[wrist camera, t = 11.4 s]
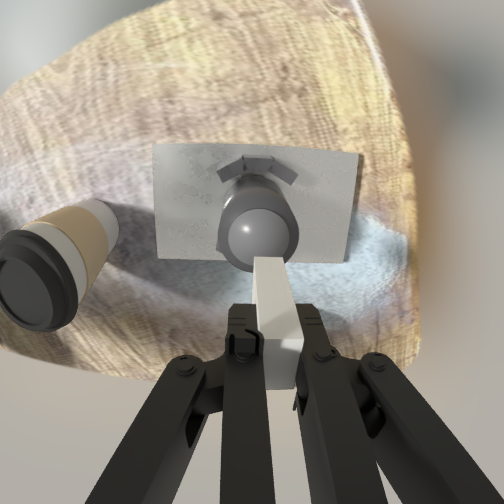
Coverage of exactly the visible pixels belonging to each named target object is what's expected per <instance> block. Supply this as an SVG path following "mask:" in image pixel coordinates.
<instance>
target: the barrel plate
mask: <svg viewBox="0 0 504 504" xmlns="http://www.w3.org/2000/svg"><path fill="white" fill-rule="evenodd" d="M358 158H359V153H356V152H349V151H341V150H332V149H323V148H313V147H301V146H288V145H273V144H254V143H220V142H184V143H154V144H152V161H153V193H154V213H155V229H156V242H157V254H158V258H160V259H191V260H224V261H228V260H227V259H226V258H225V257H224V255H223V254H222V252H221V250H220V247H219V244H218V228H219V223H220V218H221V213H222V209H223V204H224V199H225V196H226V193H227V192H228V190H229V189H230V187H231V186H232V185H233V184H234V183H235V182H237V181H238V180H240V179H242V178H245V177H249V176H261V177H265V178H267V179H269V180H271V181H273V182H274V183H275V184H276V185H277V186H278V187H279V188H280V189H281V191H282V193H283V195H284V197H285V199H286V201H287V202H288V204H289V206H290V208H291V210H292V212H293V214H294V216H295V218H296V221H297V223H298V227H299V242H298V245H297V248H296V250H295V252H294V254H293V255H292V257H291V258H290V259H289V260H288V261H287V262H299V263H343V260H344V255H345V249H346V244H347V238H348V232H349V225H350V219H351V212H352V205H353V198H354V191H355V183H356V175H357V167H358Z"/></svg>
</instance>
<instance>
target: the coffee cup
mask: <svg viewBox="0 0 504 504" xmlns="http://www.w3.org/2000/svg"><path fill="white" fill-rule="evenodd" d="M118 236H119V225H118V221H117V218H116V216H115V214H114V212H113V211H112V210H111V208H110V207H109V206H108V205H106V204H105V203H103V202H102V201H99V200H96V199H85V200H82V201H80V202H77V203H75V204H73V205H71V206H67V207H64V208H61V209H59V210H57V211H54V212H52V213H50V214H47V215H45V216H43V217H41V218H39V219H36V220H34V221H32V222H30V223H28V224H26V225H25V226H23V227H22V228H21V229H20V230H14V231H11V232H9V233H7V234H6V235H5V236H4V237H3V238H2V239H1V241H0V306H1V308H2V309H3V311H4V312H5V313H6V314H7V316H8V317H9V318H10V319H11V320H13V321H14V322H15V323H16V324H18V325H19V326H21V327H23V328H25V329H27V330H31V331H41V332H52V331H56V330H58V329H60V328H61V327H64V326H66V325H67V324H69V323H70V322H71V321H72V320H73V318H74V317H75V315H76V312H77V308H78V305H79V304H80V303H81V302H82V301H83V300H84V298H85V296H86V295H87V293H88V291H89V289H90V287H91V286H92V284H93V282H94V281H95V279H96V277H97V275H98V274H99V272H100V270H101V269H102V267H103V265H104V264H105V262H106V259H107V257H108V255H109V254H110V252H111V251H112V249H113V248H114V246H115V244H116V242H117V240H118Z"/></svg>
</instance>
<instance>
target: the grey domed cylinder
mask: <svg viewBox="0 0 504 504" xmlns="http://www.w3.org/2000/svg"><path fill="white" fill-rule="evenodd" d="M298 242H299V227H298V223H297V221H296V218H295V216H294V214H293V212H292V210H291V208H290V206H289V204H288V202H287V201H286V199H285V197H284V195H283V193H282V191H281V189H280V188H279V187H278V186H277V185H276V184H275V183H274V182H273V181H271V180H269V179H267V178H265V177H261V176H249V177H245V178H242V179H240V180H238V181H237V182H235V183H234V184H233V185H232V186H231V187H230V189H229V190H228V192H227V193H226V196H225V199H224V204H223V209H222V213H221V218H220V223H219V228H218V244H219V247H220V250H221V252H222V254H223V255H224V257H225V258H226V259H227V260H228V261H229V262H230V263H231V264H232V265H234V266H235V267H237V268H239V269H241V270H243V271H246V272H251V273H253V269H254V257H283V261H284V264H285V263H286V262H287V261H288V260H289V259H290V258H291V257H292V255H293V254H294V252H295V250H296V248H297V245H298Z"/></svg>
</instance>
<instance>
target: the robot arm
mask: <svg viewBox="0 0 504 504" xmlns="http://www.w3.org/2000/svg"><path fill="white" fill-rule="evenodd" d="M295 381H296V386H297V392H296V397H295V401H294V405H293V411H294V410H296V406H297V412H298V418H299V424H300V430H301V437H302V443H303V450H304V456H305V463H306V469H307V476H308V483H309V489H310V496H311V503H312V504H388V501H387V498H386V494H385V491H384V487H383V484H382V481H381V477H380V474H379V470H378V467H377V463H378V465H379V467H380V468H381V470H382V471H383V473H384V475H385V476H386V478H387V479H388V481H389V483H390V484H391V486H392V487H393V489H394V491H395V492H396V494H397V495H398V497H399V499H400V500H401V502H402V503H403V504H504V499H503V498H502V497H501V496H500V494H499V493H498V491H497V490H496V489H495V487H494V486H493V485H492V483H491V482H490V481H489V479H488V478H487V477H486V476H485V474H484V473H483V472H482V470H481V469H480V468H479V466H478V465H477V464H476V462H475V461H474V460H473V459H472V457H471V456H470V455H469V454H468V452H467V451H466V450H465V448H464V447H463V446H462V445H461V443H460V442H459V441H458V440H457V438H456V437H455V436H454V435H453V433H452V432H451V431H450V430H449V428H448V427H447V426H446V425H445V423H444V422H443V421H442V420H441V418H440V417H439V416H438V415H437V414H436V412H435V411H434V410H433V409H432V408H431V406H430V405H429V404H428V403H427V401H425V399H424V398H423V397H422V395H421V394H420V393H419V392H418V391H417V389H416V388H415V387H414V386H413V385H412V384H411V382H410V381H409V380H408V379H407V378H406V376H405V375H404V374H403V373H402V372H401V371H400V369H399V368H398V367H397V366H396V365H395V364H394V362H393V361H392V360H391V359H390V358H389V357H388V356H386V355H384V354H382V353H377V352H371V353H367V354H365V355H364V356H363V357H362V358H361V360H355V359H349V358H345V357H343V356H341V355H340V353H339V352H338V350H337V349H336V348H334V347H333V346H331V345H330V342H329V339H328V336H327V334H326V331H325V328H324V325H323V322H322V319H321V317H320V314H319V311H318V310H317V309H316V308H315V307H314V306H313V305H312V304H295V302H294V298H293V294H292V290H291V287H290V283H289V279H288V275H287V272H286V268H285V264H284V261H283V257H254V269H253V287H252V304H236V303H234V304H233V305H232V306H231V308H230V309H229V314H228V331H227V335H226V337H225V352H224V354H223V355H222V356H221V357H219V358H217V359H215V360H212V361H207V362H203V361H202V360H201V359H200V358H198V357H195V356H192V355H182V356H178V357H176V358H174V359H172V360H171V361H170V362H169V363H168V365H167V366H166V368H165V370H164V371H163V373H162V375H161V376H160V378H159V380H158V381H157V383H156V385H155V386H154V388H153V389H152V391H151V393H150V395H149V396H148V398H147V400H146V401H145V403H144V404H143V406H142V408H141V409H140V411H139V413H138V414H137V416H136V418H135V419H134V421H133V423H132V424H131V426H130V428H129V429H128V431H127V433H126V434H125V436H124V438H123V439H122V441H121V443H120V444H119V446H118V448H117V449H116V451H115V453H114V454H113V456H112V458H111V459H110V461H109V463H108V464H107V466H106V468H105V470H104V471H103V473H102V475H101V477H100V478H99V480H98V481H97V483H96V485H95V486H94V488H93V490H92V492H91V493H90V495H89V497H88V498H87V500H86V502H85V504H172V502H173V500H174V497H175V495H176V493H177V490H178V488H179V486H180V483H181V481H182V478H183V476H184V474H185V471H186V469H187V466H188V464H189V462H190V460H191V457H192V455H193V452H194V450H195V448H196V445H197V443H198V440H199V438H200V435H201V433H202V431H203V428H204V426H205V423H206V421H207V418H208V416H209V414H212V413H216V412H221V411H223V419H222V444H221V445H222V446H221V475H220V477H221V479H220V504H276V503H275V492H274V481H273V480H274V479H273V468H272V456H271V444H270V432H269V421H268V410H267V398H266V390H282V389H294V386H295ZM376 462H377V463H376Z"/></svg>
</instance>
